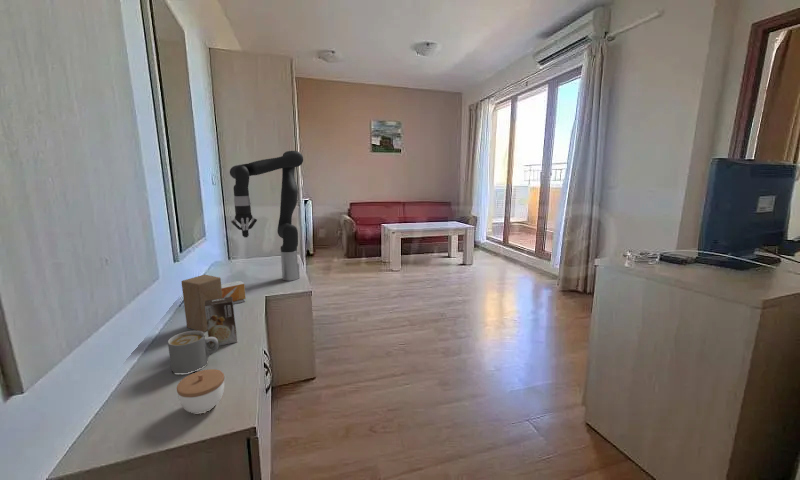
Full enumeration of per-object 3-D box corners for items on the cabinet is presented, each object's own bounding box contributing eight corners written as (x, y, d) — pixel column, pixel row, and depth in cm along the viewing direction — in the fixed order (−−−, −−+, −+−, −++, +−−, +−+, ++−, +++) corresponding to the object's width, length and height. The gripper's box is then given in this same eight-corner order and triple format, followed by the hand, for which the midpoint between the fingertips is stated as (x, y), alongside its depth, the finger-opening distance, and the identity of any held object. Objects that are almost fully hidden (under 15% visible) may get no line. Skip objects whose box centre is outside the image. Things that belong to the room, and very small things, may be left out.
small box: (246, 298, 164) (217, 305, 155) (241, 295, 168) (213, 302, 159) (244, 283, 162) (215, 289, 153) (240, 280, 167) (211, 286, 158)
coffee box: (236, 335, 127) (233, 295, 124) (237, 342, 122) (233, 301, 119) (209, 340, 123) (205, 299, 120) (208, 348, 117) (204, 305, 114)
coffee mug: (168, 378, 100) (164, 348, 98) (175, 361, 109) (171, 333, 107) (218, 368, 105) (215, 339, 103) (220, 353, 114) (218, 326, 112)
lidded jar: (233, 393, 93) (230, 363, 91) (213, 420, 83) (210, 387, 81) (195, 393, 93) (191, 363, 91) (170, 421, 82) (165, 388, 81)
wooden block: (225, 323, 138) (221, 277, 134) (202, 333, 129) (197, 284, 125) (209, 318, 142) (204, 274, 138) (186, 328, 133) (180, 280, 129)
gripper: (253, 203, 178) (256, 234, 182) (227, 204, 170) (230, 237, 174) (257, 204, 172) (260, 236, 176) (230, 205, 164) (233, 239, 168)
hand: (245, 237), depth 175 cm, fingers closed
